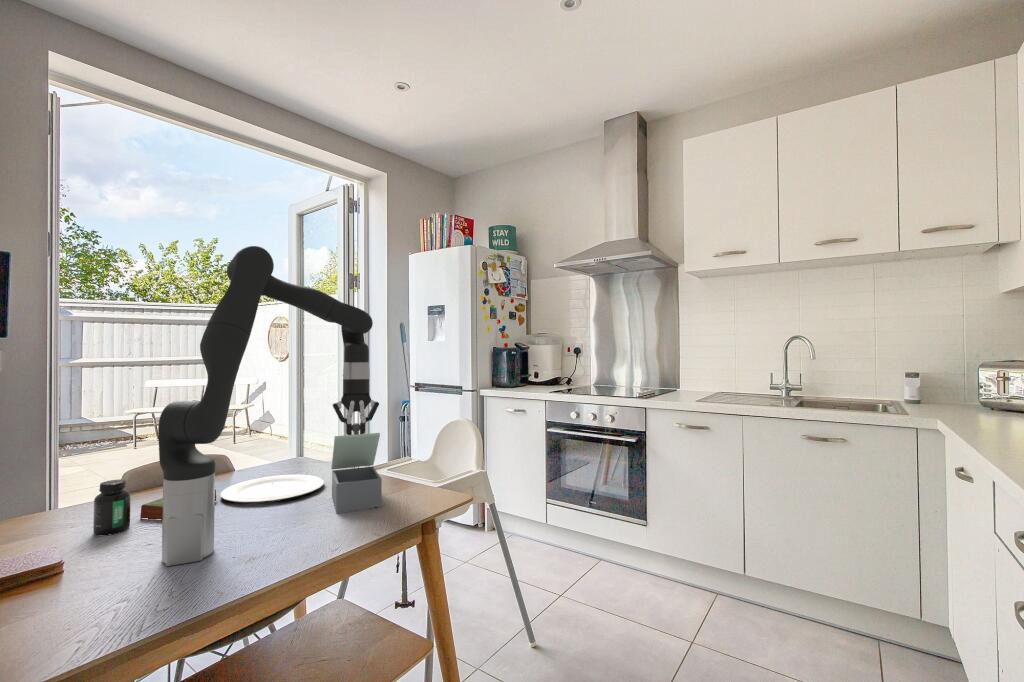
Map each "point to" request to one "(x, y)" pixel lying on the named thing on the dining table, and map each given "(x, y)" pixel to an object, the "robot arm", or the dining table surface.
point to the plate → (272, 488)
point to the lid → (354, 449)
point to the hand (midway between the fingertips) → (355, 435)
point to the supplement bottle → (112, 508)
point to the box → (356, 489)
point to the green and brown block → (154, 509)
